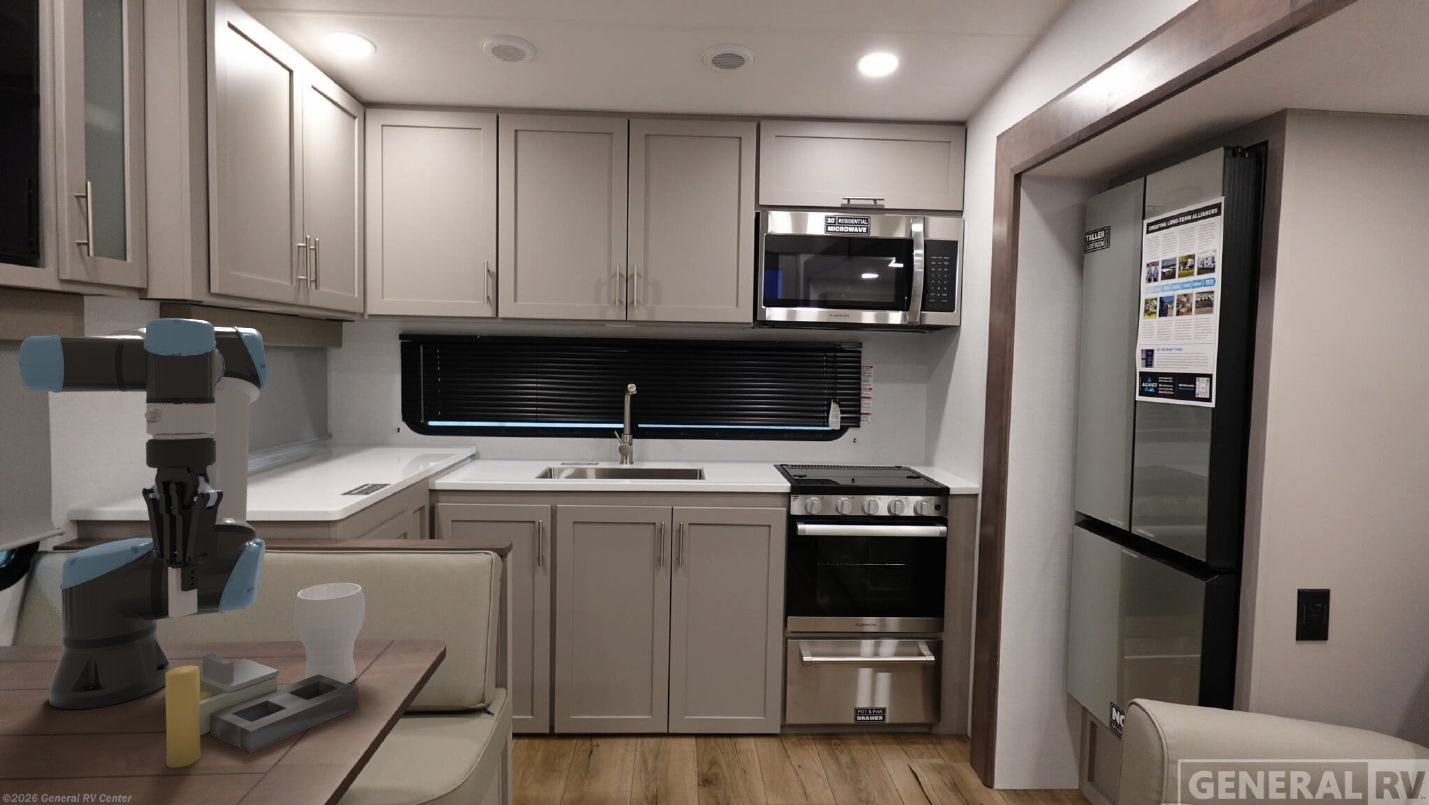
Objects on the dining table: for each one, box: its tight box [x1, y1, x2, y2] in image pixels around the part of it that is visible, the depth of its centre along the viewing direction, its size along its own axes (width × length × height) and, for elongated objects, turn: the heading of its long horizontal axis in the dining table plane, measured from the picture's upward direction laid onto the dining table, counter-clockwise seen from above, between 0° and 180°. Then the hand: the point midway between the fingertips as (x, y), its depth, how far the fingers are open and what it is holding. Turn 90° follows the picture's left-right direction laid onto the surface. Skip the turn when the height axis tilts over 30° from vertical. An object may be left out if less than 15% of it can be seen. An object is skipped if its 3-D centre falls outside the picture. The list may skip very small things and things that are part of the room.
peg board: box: [210, 674, 359, 754], centre depth 110 cm, size 10×16×3 cm, turn 151°
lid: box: [199, 653, 280, 692], centre depth 113 cm, size 9×7×4 cm
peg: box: [165, 664, 202, 769], centre depth 98 cm, size 4×4×12 cm
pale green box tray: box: [200, 676, 278, 736], centre depth 112 cm, size 9×11×4 cm
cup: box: [292, 582, 366, 684], centre depth 124 cm, size 11×11×15 cm
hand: (183, 614), depth 99 cm, fingers closed
